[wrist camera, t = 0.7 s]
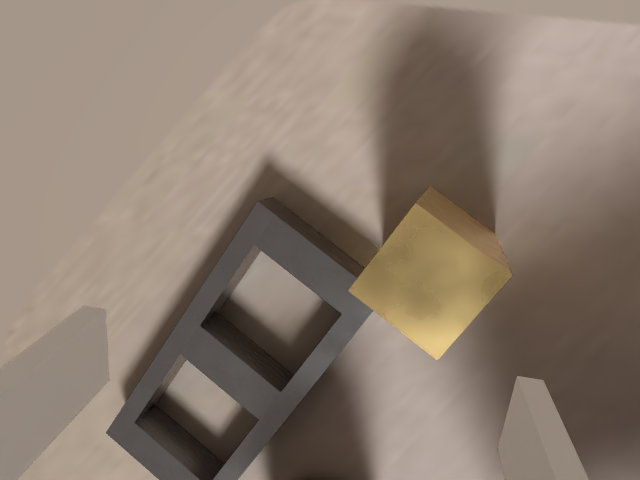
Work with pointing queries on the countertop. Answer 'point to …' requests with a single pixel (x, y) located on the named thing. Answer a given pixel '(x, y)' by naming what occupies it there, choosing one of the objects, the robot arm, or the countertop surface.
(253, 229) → the rack
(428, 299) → the brass block
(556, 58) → the countertop surface
